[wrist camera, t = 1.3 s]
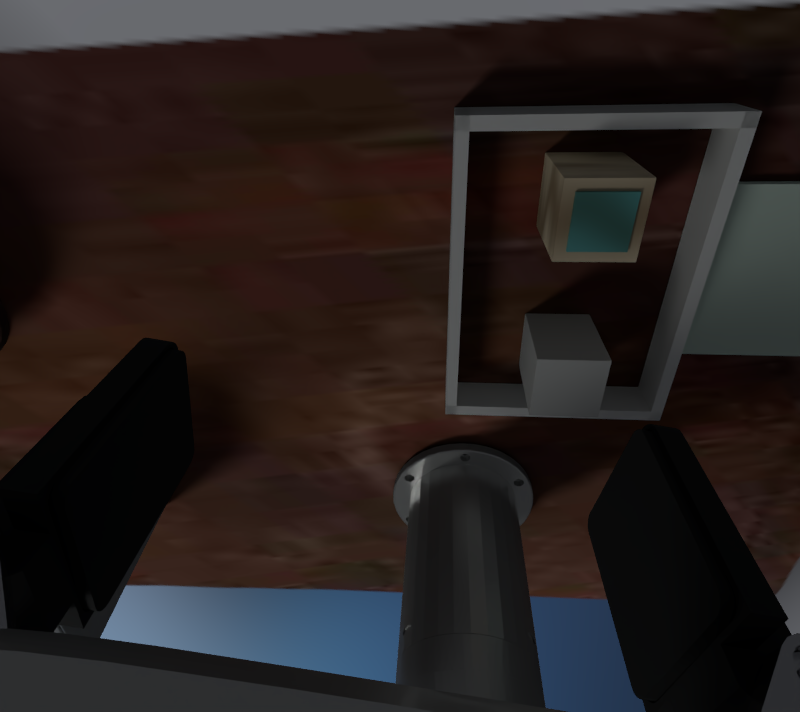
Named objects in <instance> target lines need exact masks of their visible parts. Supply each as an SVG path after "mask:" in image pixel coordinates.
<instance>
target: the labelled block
mask: <svg viewBox="0 0 800 712" xmlns="http://www.w3.org/2000/svg"><path fill="white" fill-rule="evenodd" d="M655 182H656V177H655V176H654V175H652V174H651V173H650V172H648V171H647V170H646V169H644V168H643V167H642V166H640V165H639V164H638V163H636V162H635V161H634V160H633V159H631V158H630V157H629V156H627V155H626V154H625V153H623V152H545V160H544V168H543V176H542V184H541V192H540V200H539V208H538V217H537V225H536V226H537V228H538V230H539V233H540V235H541V237H542V239H543V242H544V244H545V246H546V249H547V251H548V253H549V256H550V258H551V260H552V262H636V260H637V256H638V252H639V248H640V244H641V240H642V235H643V231H644V227H645V223H646V219H647V215H648V211H649V207H650V203H651V199H652V194H653V190H654V186H655Z"/></svg>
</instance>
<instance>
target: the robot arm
mask: <svg viewBox="0 0 800 712" xmlns="http://www.w3.org/2000/svg"><path fill="white" fill-rule="evenodd" d="M193 454H194V440H193V429H192V418H191V407H190V397H189V386H188V375H187V364H186V356H185V353H184V352H183V351H179V350H178V347H177V345H176V344H175V343H174V342H169V341H163V340H157V339H151V338H143V339H142V340H141V341H140V342H139V343H138V344H137V345H136V346H135V347H134V348H133V349H132V350H131V351H130V352H129V353H128V354H127V355H126V356H125V357H124V358H123V359H122V360H121V361H120V362H119V363H118V364H117V365H116V366H115V367H114V368H113V369H112V370H111V371H110V372H109V373H108V374H107V376H106V377H105V378H104V379H103V380H102V381H101V382H100V383H99V384H98V385H97V386H96V387H95V388H94V389H93V390H92V391H91V392H90V393H89V394H88V395H87V396H84V397H83V398H82V399H80V400H79V401H78V402H77V403H76V404H75V405H74V406H73V407H72V408H71V409H70V410H69V411H68V412H67V413H66V414H65V415H64V416H63V417H62V418H61V419H60V420H59V421H58V422H57V423H56V424H55V425H54V426H53V427H52V428H51V429H50V430H49V431H48V432H47V434H46V435H45V436H44V437H43V438H42V439H41V440H40V441H39V442H38V443H37V444H36V445H35V446H34V447H33V448H32V449H31V450H30V451H29V452H28V453H27V454H26V455H25V456H24V457H23V458H22V459H21V460H20V461H19V462H18V463H17V464H16V465H15V466H14V467H13V468H12V469H11V470H10V471H9V472H8V473H7V474H6V475H5V476H4V477H3V478H2V479H1V480H0V712H566V711H560V710H554V709H548V708H546V707H545V701H544V694H543V687H542V681H541V673H540V666H539V659H538V653H537V646H536V639H535V631H534V624H533V617H532V610H531V603H530V596H529V589H528V582H527V575H526V568H525V561H524V553H523V546H522V539H521V532H520V525H521V524H522V523H523V522H524V521H525V520H526V518H527V517H528V515H529V514H530V511H531V508H532V505H533V491H532V486H531V482H530V479H529V477H528V475H527V473H526V472H525V470H524V469H523V468H522V466H521V465H520V464H519V463H517V462H516V461H515V460H514V459H513V458H511V457H510V456H508V455H506V454H504V453H503V452H501V451H498V450H495V449H493V448H490V447H486V446H482V445H477V444H465V443H458V444H446V445H442V446H437V447H433V448H431V449H428V450H426V451H423V452H421V453H420V454H418V455H416V456H414V457H413V458H411V459H410V460H409V461H408V462H407V463H406V464H405V465H404V466H403V467H402V469H401V470H400V472H399V473H398V475H397V478H396V480H395V485H394V492H393V498H394V505H395V508H396V511H397V513H398V514H399V516H400V517H401V519H402V520H403V521H404V522H405V523H406V524H407V525H408V532H407V545H406V557H405V570H404V583H403V596H402V610H401V622H400V635H399V647H398V648H399V649H398V661H397V673H396V684H395V683H389V682H382V681H376V680H370V679H363V678H357V677H351V676H345V675H339V674H332V673H326V672H320V671H314V670H307V669H301V668H295V667H288V666H282V665H275V664H269V663H262V662H256V661H249V660H243V659H236V658H230V657H224V656H217V655H211V654H204V653H198V652H192V651H185V650H179V649H172V648H166V647H159V646H152V645H145V644H137V643H129V642H122V641H115V640H109V639H101V638H94V637H87V636H79V635H72V634H65V633H55V632H54V631H55V629H56V628H57V626H58V625H62V626H68V627H75V628H81V629H84V628H85V626H86V624H87V623H88V621H89V619H90V618H91V616H92V614H93V613H94V611H99V612H100V611H102V610H103V609H104V608H105V607H106V606H107V604H108V603H109V601H110V600H111V598H112V596H113V595H114V593H115V591H116V590H117V588H118V586H119V584H120V583H121V581H122V579H123V578H124V576H125V574H126V572H127V571H128V569H129V567H130V566H131V564H132V562H133V561H134V559H135V557H136V555H137V554H138V552H139V550H140V549H141V547H142V545H143V544H144V542H145V540H146V538H147V537H148V535H149V533H150V532H151V530H152V528H153V526H154V525H155V523H156V521H157V520H158V518H159V516H160V515H161V513H162V511H163V509H164V508H165V506H166V504H167V503H168V501H169V499H170V497H171V496H172V494H173V492H174V491H175V489H176V487H177V486H178V484H179V482H180V480H181V479H182V477H183V475H184V474H185V472H186V470H187V468H188V467H189V465H190V463H191V461H192V458H193ZM588 531H589V535H590V538H591V542H592V545H593V549H594V553H595V556H596V560H597V563H598V567H599V571H600V574H601V578H602V582H603V585H604V589H605V592H606V596H607V600H608V603H609V606H610V610H611V614H612V617H613V621H614V624H615V628H616V632H617V635H618V639H619V643H620V646H621V650H622V653H623V657H624V661H625V664H626V668H627V671H628V675H629V679H630V682H631V686H632V689H633V691H634V693H635V695H636V696H637V697H638V698H639V699H642V700H643V703H644V706H645V710H646V712H800V634H798V633H797V634H794V635H791V633H790V631H789V629H788V628H787V626H786V624H785V621H787V619H788V617H787V615H786V614H785V612H784V610H783V609H782V607H781V605H780V603H779V602H778V600H777V598H776V596H775V595H774V593H773V591H772V589H771V588H770V586H769V584H768V582H767V581H766V579H765V577H764V575H763V574H762V572H761V570H760V568H759V567H758V565H757V563H756V561H755V560H754V558H753V556H752V554H751V553H750V551H749V549H748V547H747V546H746V544H745V542H744V540H743V539H742V537H741V535H740V533H739V532H738V530H737V528H736V526H735V525H734V523H733V521H732V519H731V518H730V516H729V514H728V513H727V511H726V509H725V507H724V506H723V504H722V502H721V500H720V499H719V497H718V495H717V493H716V492H715V490H714V488H713V486H712V485H711V483H710V481H709V479H708V478H707V476H706V474H705V472H704V471H703V469H702V467H701V465H700V464H699V462H698V460H697V458H696V457H695V455H694V453H693V451H692V450H691V448H690V446H689V444H688V443H687V441H686V439H685V437H684V436H683V434H682V433H681V431H680V430H678V429H676V428H670V427H664V426H658V425H653V424H648V425H646V426H645V427H644V428H643V429H642V430H640V429H639V430H636V431H635V432H634V433H633V435H632V437H631V438H630V440H629V442H628V444H627V446H626V448H625V450H624V451H623V453H622V455H621V457H620V459H619V461H618V463H617V464H616V466H615V468H614V470H613V472H612V474H611V475H610V477H609V479H608V481H607V483H606V485H605V487H604V488H603V490H602V492H601V494H600V496H599V498H598V499H597V501H596V503H595V505H594V507H593V509H592V511H591V512H590V515H589V519H588Z"/></svg>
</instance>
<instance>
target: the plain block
mask: <svg viewBox="0 0 800 712" xmlns="http://www.w3.org/2000/svg"><path fill="white" fill-rule="evenodd" d="M611 362H612V361H611V359H610V356H609V354H608V352H607V350H606V348H605V346H604V344H603V342H602V340H601V338H600V335H599V333H598V331H597V329H596V327H595V325H594V323H593V321H592V319H591V317H590V314H531V313H525V321H524V329H523V337H522V345H521V353H520V361H519V368H520V373H521V377H522V382H523V387H524V392H525V397H526V402H527V407H528V412H529V415H541V416H573V417H598V415H599V411H600V407H601V403H602V399H603V395H604V391H605V387H606V383H607V378H608V374H609V370H610V366H611Z"/></svg>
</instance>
